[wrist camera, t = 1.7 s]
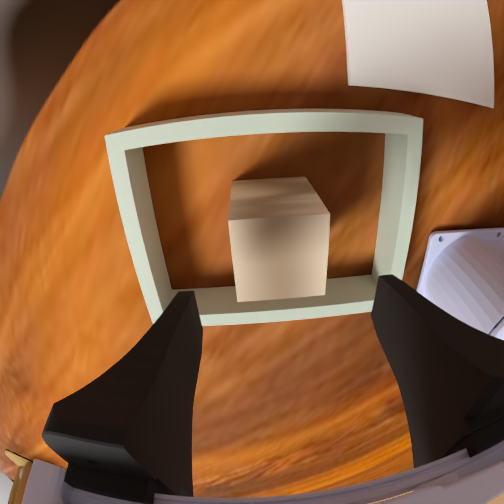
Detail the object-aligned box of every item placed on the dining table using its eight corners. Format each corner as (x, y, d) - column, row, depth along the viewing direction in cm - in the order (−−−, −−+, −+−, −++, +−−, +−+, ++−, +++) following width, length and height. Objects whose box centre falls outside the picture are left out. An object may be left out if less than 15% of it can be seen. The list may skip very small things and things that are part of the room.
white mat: (481, -10, 11) (484, -11, 10) (490, 107, 16) (493, 108, 15) (334, -54, 11) (336, -56, 10) (347, 85, 16) (350, 85, 15)
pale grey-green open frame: (399, 112, 16) (423, 118, 14) (380, 284, 23) (395, 308, 20) (124, 127, 17) (104, 135, 14) (162, 300, 23) (154, 327, 20)
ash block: (305, 176, 19) (330, 213, 13) (305, 240, 21) (324, 294, 16) (232, 180, 19) (228, 220, 13) (238, 245, 21) (237, 302, 16)
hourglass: (70, 489, 64) (59, 547, 43) (13, 463, 59) (-2, 518, 38) (63, 475, 54) (47, 547, 32) (-5, 441, 49) (-26, 507, 27)
